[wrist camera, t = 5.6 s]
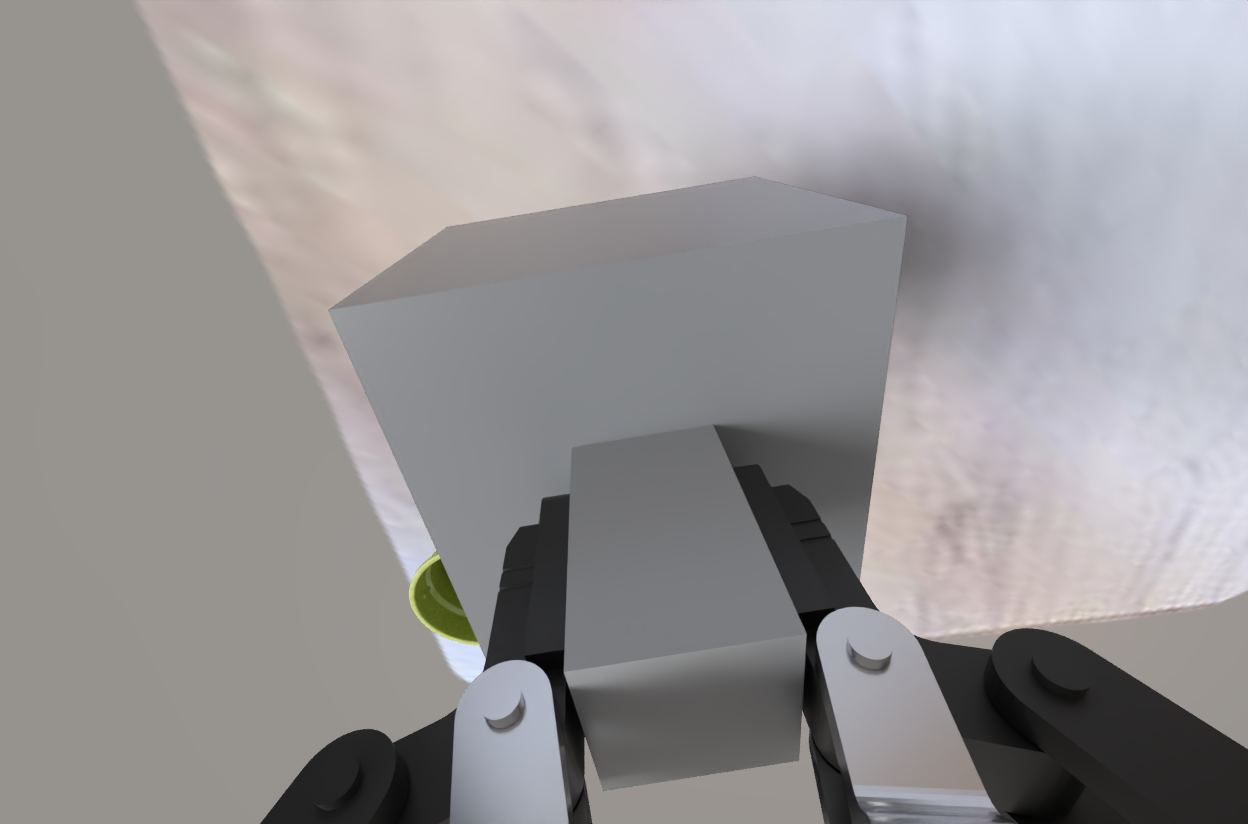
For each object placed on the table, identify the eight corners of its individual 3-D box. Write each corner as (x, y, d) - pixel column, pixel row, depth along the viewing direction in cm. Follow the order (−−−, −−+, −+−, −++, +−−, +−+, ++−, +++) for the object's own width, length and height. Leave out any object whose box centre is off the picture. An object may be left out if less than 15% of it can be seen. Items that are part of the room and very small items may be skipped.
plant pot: (584, 510, 41) (585, 596, 33) (508, 572, 43) (493, 664, 36) (494, 442, 37) (472, 521, 29) (416, 514, 40) (378, 604, 32)
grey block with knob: (754, 176, 16) (1238, 300, 4) (757, 437, 21) (983, 829, 9) (447, 227, 16) (73, 488, 4) (522, 474, 21) (445, 912, 9)
